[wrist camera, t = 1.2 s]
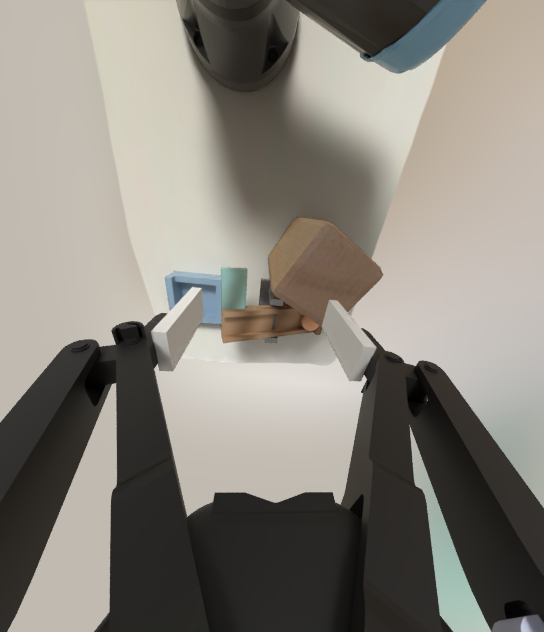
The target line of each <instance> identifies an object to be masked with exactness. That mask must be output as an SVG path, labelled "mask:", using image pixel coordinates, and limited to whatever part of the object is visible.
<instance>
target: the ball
mask: <svg viewBox="0 0 544 632" xmlns="http://www.w3.org/2000/svg"><path fill="white" fill-rule="evenodd" d="M302 326H303V328H304V329H306V330H308V331H313V330H316V329H317V328H318V326H319V325H318V324H316V323H315V322H313V321H312V320H310V319H309V318H307V317H306V316H303V318H302Z"/></svg>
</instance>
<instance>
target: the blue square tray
mask: <svg viewBox="0 0 544 632" xmlns="http://www.w3.org/2000/svg"><path fill="white" fill-rule="evenodd" d="M165 282H166V289H167V296H168V302H169V309H170V310H171V309H172V308H173V307H174V306H175V305H176V304H177V303H178V302H179V301H180V300H181V299H182V298H183V297H184V296H185V294H186V293H187V292H188V291H189V290H190V289H191V288H192V287H196V288H202V298H203V314H204V317H203V319H202V321H201V323H212V324H221V276H218V275H208V274H198V273H189V272H179V271H174V272H172V273H171V274H169V275H168V276H166V277H165Z"/></svg>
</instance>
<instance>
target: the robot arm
mask: <svg viewBox="0 0 544 632" xmlns="http://www.w3.org/2000/svg"><path fill="white" fill-rule="evenodd" d="M486 1H487V0H176V2H177V6H178V10H179V13H180V17H181V20H182V23H183V26H184V28H185V31H186V33H187V36H188V38H189V40H190V43H191V45H192V47H193V49H194V51H195V53H196V55H197V57H198V59H199V60H200V62H201V63H202V65H203V66H204V67H205V69H206V70H207V71H208V72H209V73H210V74H211V76H213V77H214V78H215V79H216V80H217V81H218V82H220V83H221V84H223V85H224V86H226V87H228V88H230V89H233V90H237V91H253V90H257V89H259V88H261V87H263V86H265V85H266V84H268V83H269V82H270V81H272V80H273V79H274V78H275V76H276V75H277V74H278V73H279V72H280V70H281V69H282V67H283V66H284V64H285V62H286V60H287V58H288V56H289V53H290V51H291V48H292V45H293V42H294V38H295V34H296V28H297V23H298V17H299V11H300V12H302V13H303V14H305V15H306V16H308V17H309V18H310V19H312V20H313V21H315V22H316V23H318V24H319V25H320V26H322V27H323V28H325V29H326V30H328V31H329V32H330V33H332V34H333V35H335V36H336V37H338V38H339V39H340V40H342V41H343V42H345V43H346V44H348V45H349V46H350V47H352V48H353V49H355V50H356V51H358V52H359V53H360V57H361V58H362V59H363V60H364V61H367V62H375V63H377V64H378V65H380V66H382V67H384V68H385V69H387V70H389V71H390V72H393V73H403V72H405V71H408V70H412V69H414V68H416V67H418V66H419V65H421V64H422V63H424V62H425V61H427V60H428V59H429V58H431V57H432V56H433V55H434V54H435V53H437V52H438V51H439V50H440V49H441V48H442V47H443V46H444V45H445V44H446V43H448V42H449V41H450V40H451V39H452V38H453V36H455V34H456V33H457V32H458V31H459V30H460V29H461V28H462V27H463V26H464V25H465V24H466V23H467V22H468V21H469V20H470V19H471V18H472V17H473V15H474V14H475V13H476V12H477V11H478V10H479V9H480V7H481V6H482V5H483V4H484V3H485V2H486ZM203 317H204V314H203V298H202V288H196V287H192V288H191V289H190V290H189V291H188V292H187V293H186V294H185V296H184V297H183V298H182V299H181V300H180V301H179V302H178V303H177V304H176V305H175V306H174V307H173V308H172V309H171V310H170V312H169V313H161V314H159V315H157V316H155V317H154V318H153V319H152V320H151V321H150V322H149V323H148V324H147V325H146V326H144V325H143V324H142V323H140V322H135V321H131V322H125V323H121V324H119V325H116V326H115V327H114V328H113V329H112V334H113V337H114V340H115V343H116V345H111V346H103V347H99V344H98V343H97V341H95V340H92V339H91V340H79V341H77V342H73V343H71V344H69V345H67V346H65V347H64V348H63V349H62V350H61V351H60V352H59V354H58V355H57V356H56V357H55V358H54V359H53V361H52V362H51V363H50V364H49V366H48V367H47V368H46V369H45V370H44V372H43V373H42V374H41V375H40V376H39V377H38V378H37V380H36V381H35V382H34V383H33V384H32V386H31V387H30V388H29V389H28V390H27V392H26V393H25V394H24V395H23V396H22V397H21V399H20V400H19V401H18V402H17V403H16V405H15V406H14V407H13V408H12V409H11V411H10V412H9V413H8V414H7V415H6V416H5V418H4V419H3V420H2V421H1V422H0V632H7V631H8V629H9V627H10V625H11V623H12V621H13V619H14V618H15V616H16V614H17V611H18V609H19V607H20V605H21V603H22V600H23V598H24V596H25V594H26V591H27V589H28V587H29V585H30V583H31V580H32V578H33V575H34V573H35V570H36V568H37V566H38V563H39V560H40V558H41V556H42V553H43V551H44V549H45V546H46V544H47V541H48V539H49V536H50V534H51V531H52V529H53V526H54V524H55V522H56V519H57V517H58V514H59V512H60V509H61V506H62V505H63V502H64V500H65V497H66V495H67V492H68V490H69V487H70V485H71V483H72V480H73V478H74V475H75V473H76V470H77V468H78V465H79V463H80V460H81V458H82V456H83V453H84V451H85V448H86V446H87V443H88V441H89V439H90V436H91V434H92V431H93V429H94V426H95V424H96V421H97V419H98V417H99V414H100V412H101V409H102V407H103V404H104V402H105V399H106V397H107V394H108V392H109V390H110V387H111V385H112V384H114V383H116V389H117V390H116V392H117V393H116V394H117V486H116V488H115V489H114V490H113V492H112V498H111V542H110V543H111V544H110V549H111V550H110V612H109V613H108V615H107V616H106V617H105V619H104V620H103V621H102V623H101V624H100V625H99V626H98V627H97V629H96V630H95V631H94V632H453V631H452V630H451V629H450V627H449V626H448V625H447V624H446V622H445V621H444V620H443V619H442V617H441V616H440V614H439V605H438V596H437V588H436V580H435V571H434V565H433V555H432V547H431V538H430V530H429V522H428V513H427V505H426V499H425V495H424V493H423V491H422V490H421V489H420V488H418V487H416V486H415V483H414V476H413V463H412V451H411V439H410V427H411V429H412V432H413V435H414V437H415V440H416V443H417V446H418V449H419V451H420V454H421V457H422V460H423V462H424V465H425V468H426V470H427V473H428V476H429V479H430V481H431V484H432V487H433V489H434V492H435V495H436V498H437V500H438V503H439V506H440V509H441V511H442V514H443V517H444V519H445V522H446V525H447V528H448V530H449V533H450V536H451V538H452V541H453V544H454V547H455V549H456V552H457V555H458V557H459V560H460V563H461V565H462V568H463V570H464V573H465V575H466V578H467V580H468V582H469V585H470V588H471V590H472V592H473V594H474V596H475V599H476V601H477V603H478V605H479V607H480V609H481V611H482V614H483V615H484V618H485V620H486V622H487V624H488V626H489V628H490V630H491V631H492V632H544V508H543V507H542V505H541V504H540V502H539V501H538V500H537V499H536V497H535V496H534V494H533V493H532V491H531V490H530V489H529V488H528V486H527V485H526V483H525V482H524V481H523V479H522V478H521V476H520V475H519V474H518V472H517V471H516V469H515V468H514V467H513V465H512V464H511V463H510V461H509V460H508V459H507V457H506V456H505V454H504V453H503V452H502V450H501V449H500V448H499V446H498V445H497V443H496V442H495V441H494V440H493V438H492V436H491V435H490V434H489V432H488V431H487V430H486V428H485V427H484V425H483V424H482V423H481V421H480V420H479V419H478V417H477V416H476V415H475V413H474V412H473V411H472V409H471V408H470V406H469V405H468V403H467V402H466V401H465V399H464V398H463V397H462V395H461V394H460V392H459V391H458V390H457V388H456V387H455V386H454V384H453V383H452V382H451V380H450V379H449V377H448V376H447V375H446V373H445V372H444V371H443V370H442V369H441V368H440V367H438V366H437V365H436V364H434V363H431V362H427V361H419V362H418V364H417V365H416V366H413V365H409V364H406V363H404V361H403V359H402V358H401V357H399V356H398V355H396V354H394V353H392V352H388V351H385V350H384V349H383V347H382V346H381V345H380V344H379V343H378V342H377V341H376V340H375V338H373V336H372V335H371V334H370V333H369V332H368V331H366V330H365V329H363V328H360V327H359V326H358V325H357V324H356V322H355V321H354V320H353V319H352V317H351V316H350V315H349V314H348V313H347V311H346V310H345V309H344V308H343V307H342V305H341V304H340V303H339V302H338V301H337V300H329V302H328V306H327V309H326V313H325V316H324V320H323V323H322V328H323V330H324V332H325V334H326V336H327V338H328V340H329V342H330V344H331V346H332V348H333V350H334V351H335V353H336V355H337V357H338V359H339V361H340V363H341V365H342V367H343V369H344V371H345V373H346V375H347V377H348V379H349V381H361V380H362V377H363V375H365V376H366V378H367V381H366V383H365V385H364V387H363V389H362V391H361V393H363V397H362V402H361V408H360V413H359V419H358V424H357V430H356V435H355V441H354V446H353V451H352V457H351V462H350V468H349V473H348V479H347V484H346V490H345V494H344V497H343V500H342V502H341V505H340V504H337V503H335V500H334V496H333V493H332V492H326V493H325V492H324V493H323V492H319V493H318V492H317V493H316V492H314V493H313V492H309V493H307V492H306V493H302V494H300V495H297V496H295V497H292V498H289V499H287V500H284V501H281V502H278V503H273V502H270V501H267V500H265V499H261V498H259V497H256V496H253V495H250V494H247V493H215V495H214V501H213V502H212V503H210V504H207V505H205V506H203V507H201V508H199V509H198V510H196V511H195V512H193V513H192V514H191V515H189V516H188V517H187V514H186V510H185V505H184V501H183V497H182V492H181V488H180V483H179V479H178V475H177V470H176V465H175V461H174V456H173V452H172V447H171V443H170V438H169V434H168V429H167V425H166V420H165V416H164V411H163V407H162V402H161V398H160V393H159V389H158V384H157V380H156V376H155V371H154V368H155V367H156V365H157V364H158V366H159V370H160V371H173V370H174V369H175V367H176V365H177V363H178V362H179V360H180V358H181V356H182V354H183V353H184V351H185V349H186V347H187V346H188V344H189V342H190V340H191V339H192V337H193V335H194V333H195V331H196V330H197V328H198V326H199V324H200V323H201V321H202V319H203ZM427 400H428V401H427ZM409 424H410V426H409Z"/></svg>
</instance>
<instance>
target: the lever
mask: <svg viewBox="0 0 544 632" xmlns="http://www.w3.org/2000/svg"><path fill="white" fill-rule="evenodd" d="M246 286H247V268H221V335H222V340H223V343H229V342H237V341H245V340H253V339H261V338H268V337H276V336H284V335H292V334H300V333H308V332H314V333H315V334H316V335H319V334H320V333H321V330H322V327H321V326H318V328H317V329H316V330H313V331H308V330H306V329H304V328H303V326H302V318H303V316H304V315H303V314H301V313H300V312H298V311H297V310H295V309H294V308H292V307H291V306H289V305H288V304H283V306H275V305H258V306H245V303H246Z"/></svg>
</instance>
